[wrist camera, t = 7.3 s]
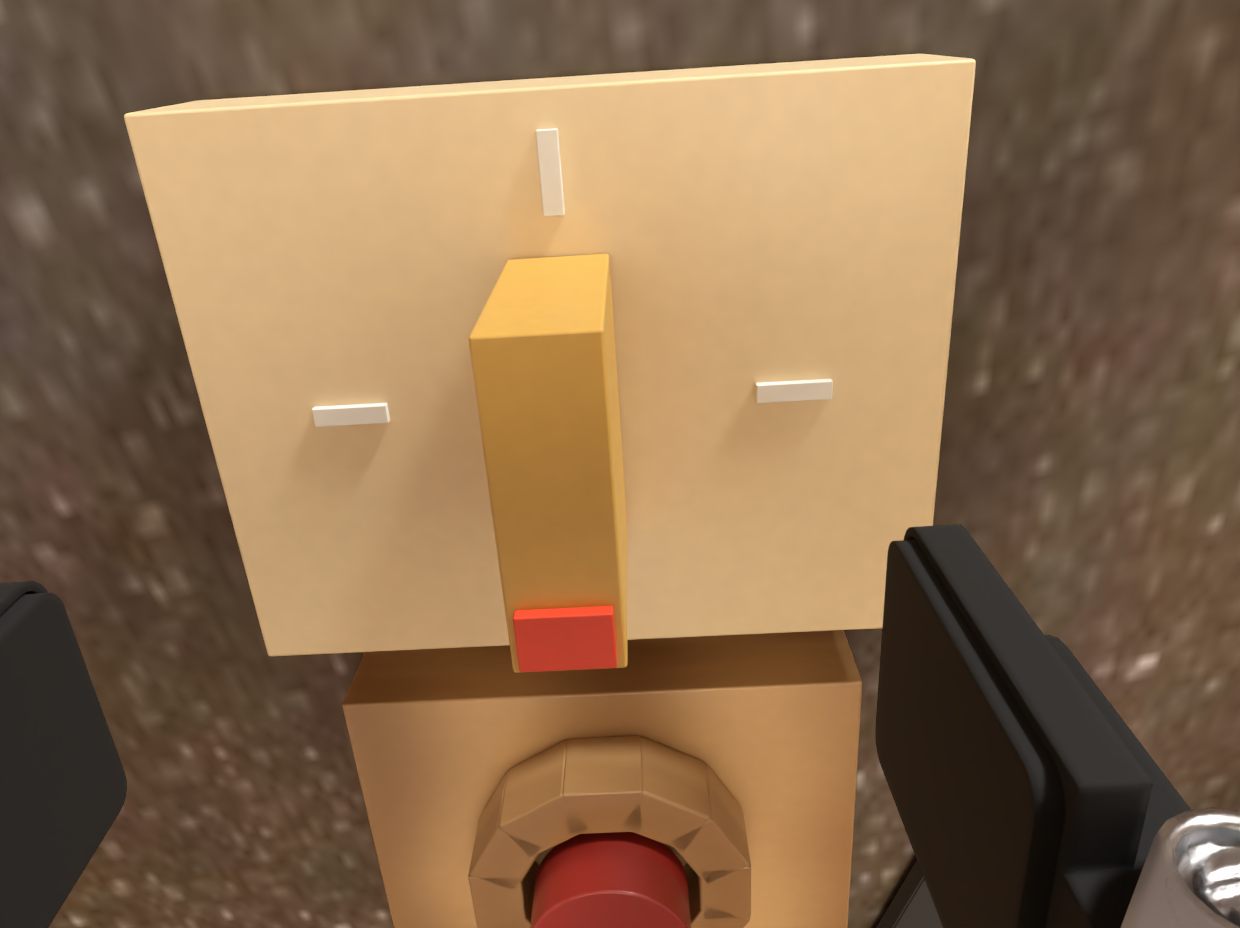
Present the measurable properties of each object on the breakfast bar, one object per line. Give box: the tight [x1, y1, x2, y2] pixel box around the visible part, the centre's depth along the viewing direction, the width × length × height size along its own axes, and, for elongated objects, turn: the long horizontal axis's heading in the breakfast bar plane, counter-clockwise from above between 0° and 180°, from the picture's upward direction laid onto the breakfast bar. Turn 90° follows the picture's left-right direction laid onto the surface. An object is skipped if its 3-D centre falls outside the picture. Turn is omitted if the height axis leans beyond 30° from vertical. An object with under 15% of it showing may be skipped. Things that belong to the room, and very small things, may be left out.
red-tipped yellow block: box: [468, 254, 628, 673], centre depth 15 cm, size 6×2×5 cm, turn 3°
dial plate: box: [124, 54, 976, 656], centre depth 19 cm, size 14×11×3 cm
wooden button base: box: [342, 630, 862, 928], centre depth 24 cm, size 12×9×4 cm
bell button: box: [530, 832, 691, 928], centre depth 21 cm, size 4×4×2 cm
